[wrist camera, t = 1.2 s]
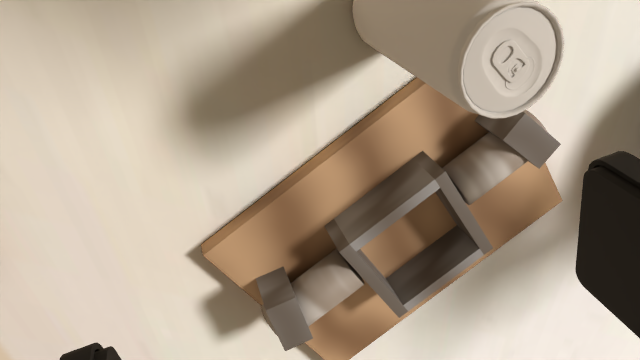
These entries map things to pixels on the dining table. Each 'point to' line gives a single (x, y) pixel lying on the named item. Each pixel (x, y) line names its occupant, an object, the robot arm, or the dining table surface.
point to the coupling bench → (386, 219)
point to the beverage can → (469, 48)
